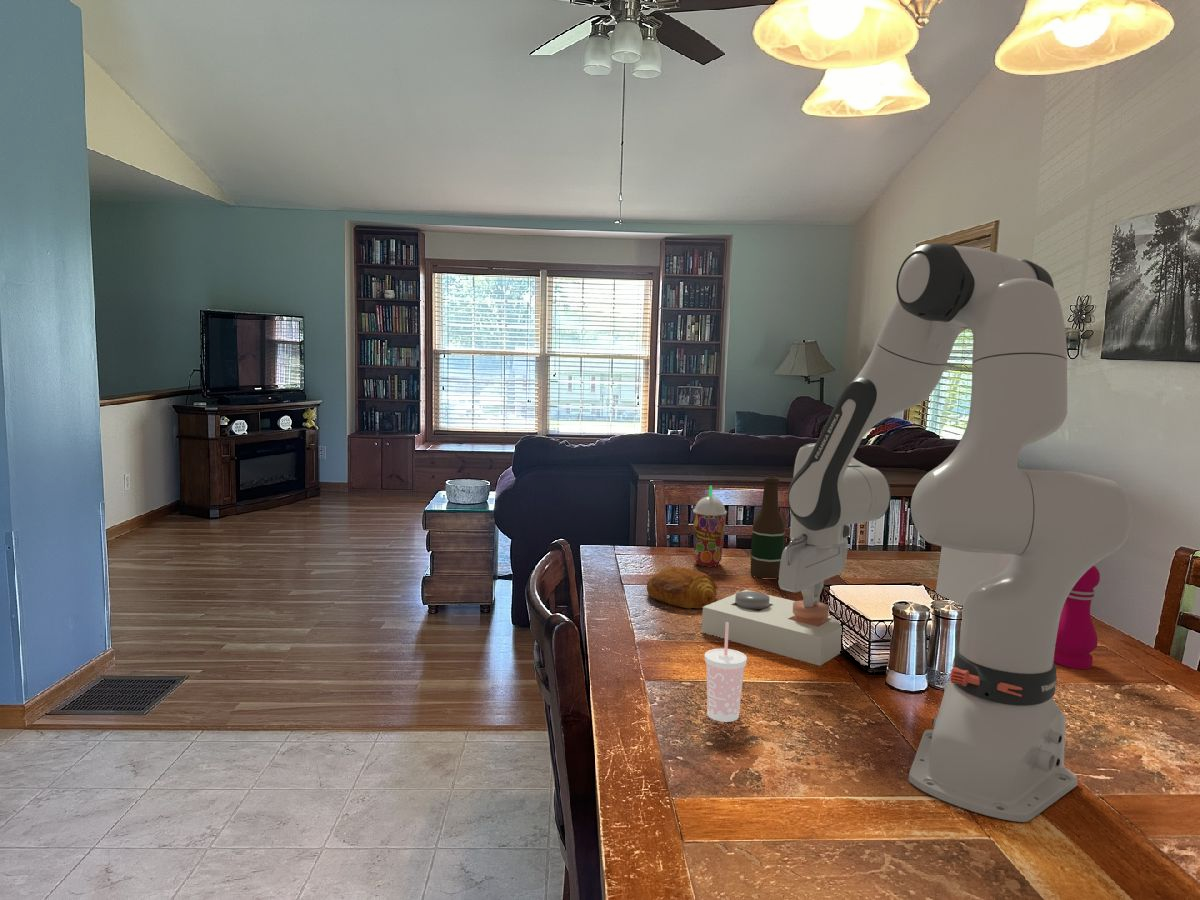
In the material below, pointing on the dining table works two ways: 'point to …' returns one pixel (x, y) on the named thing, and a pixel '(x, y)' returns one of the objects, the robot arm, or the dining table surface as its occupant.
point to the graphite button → (752, 600)
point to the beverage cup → (724, 681)
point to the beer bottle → (768, 534)
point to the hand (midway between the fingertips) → (811, 605)
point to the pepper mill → (1077, 625)
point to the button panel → (774, 629)
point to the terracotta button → (810, 613)
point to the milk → (966, 571)
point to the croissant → (682, 587)
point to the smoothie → (709, 530)
